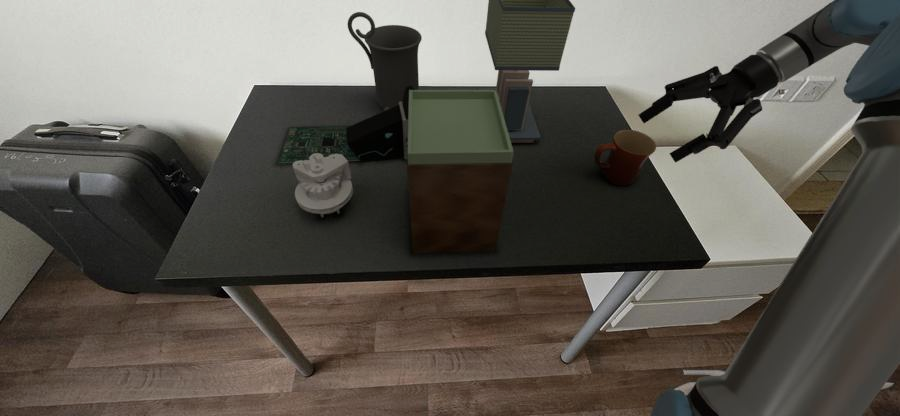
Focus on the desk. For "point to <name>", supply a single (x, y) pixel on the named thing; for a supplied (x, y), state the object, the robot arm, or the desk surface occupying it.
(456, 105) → the tray
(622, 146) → the mug
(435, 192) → the plinth
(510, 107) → the desk lamp
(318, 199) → the mechanical part
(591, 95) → the desk surface
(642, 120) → the robot arm
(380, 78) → the mug
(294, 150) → the circuit board
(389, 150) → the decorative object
